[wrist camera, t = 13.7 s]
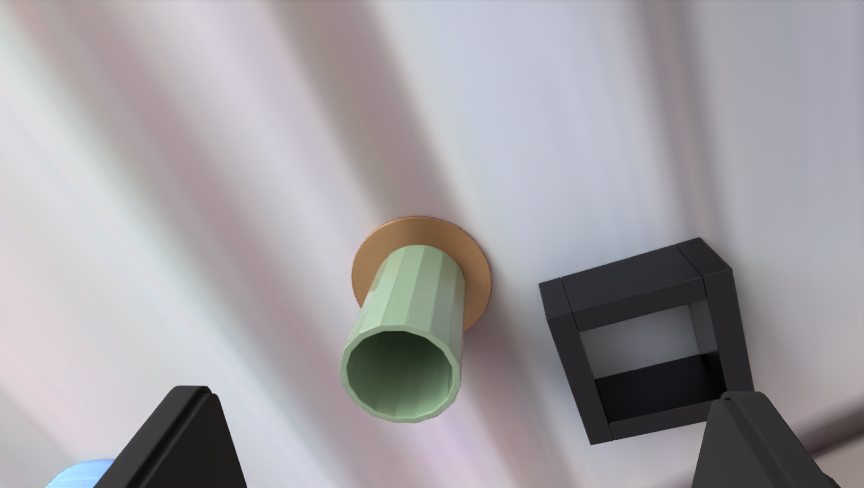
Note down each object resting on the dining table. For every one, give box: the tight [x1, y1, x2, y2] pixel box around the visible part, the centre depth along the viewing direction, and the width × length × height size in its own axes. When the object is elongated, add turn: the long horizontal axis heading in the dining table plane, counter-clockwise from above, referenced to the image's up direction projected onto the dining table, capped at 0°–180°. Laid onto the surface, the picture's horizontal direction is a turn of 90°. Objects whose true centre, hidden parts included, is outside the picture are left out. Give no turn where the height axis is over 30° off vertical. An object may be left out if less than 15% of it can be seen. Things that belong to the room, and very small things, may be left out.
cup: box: [339, 245, 466, 423], centre depth 31 cm, size 6×6×10 cm
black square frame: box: [539, 237, 755, 445], centre depth 33 cm, size 11×11×5 cm
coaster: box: [352, 216, 492, 331], centre depth 35 cm, size 10×10×1 cm
